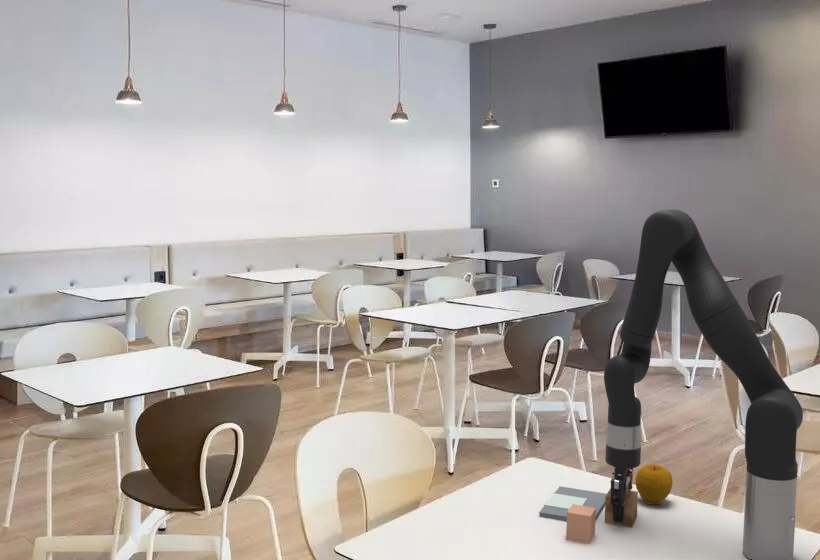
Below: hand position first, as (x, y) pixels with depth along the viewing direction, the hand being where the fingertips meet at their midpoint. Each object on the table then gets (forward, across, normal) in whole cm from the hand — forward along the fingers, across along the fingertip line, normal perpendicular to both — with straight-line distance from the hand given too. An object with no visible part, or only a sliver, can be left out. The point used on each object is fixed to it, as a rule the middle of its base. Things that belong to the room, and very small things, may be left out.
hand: (620, 515), depth 180 cm
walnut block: (+1, 0, 0) cm, 1 cm away
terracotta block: (+1, -13, +6) cm, 14 cm away
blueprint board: (+1, +3, +11) cm, 11 cm away
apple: (+1, +14, -5) cm, 15 cm away
